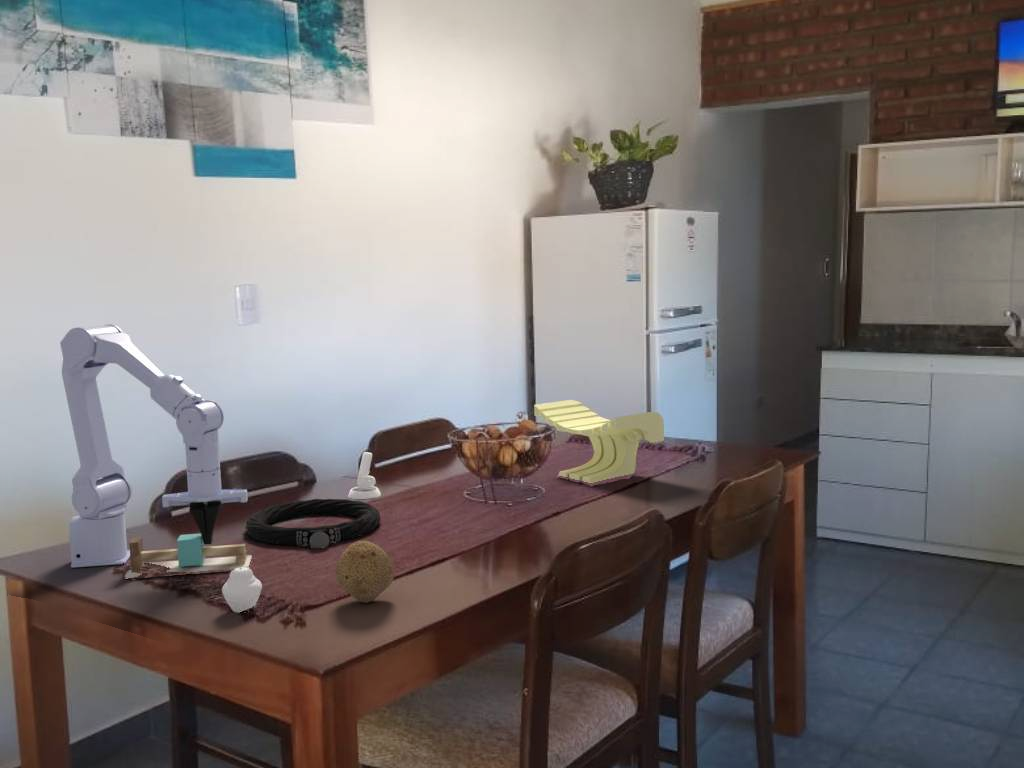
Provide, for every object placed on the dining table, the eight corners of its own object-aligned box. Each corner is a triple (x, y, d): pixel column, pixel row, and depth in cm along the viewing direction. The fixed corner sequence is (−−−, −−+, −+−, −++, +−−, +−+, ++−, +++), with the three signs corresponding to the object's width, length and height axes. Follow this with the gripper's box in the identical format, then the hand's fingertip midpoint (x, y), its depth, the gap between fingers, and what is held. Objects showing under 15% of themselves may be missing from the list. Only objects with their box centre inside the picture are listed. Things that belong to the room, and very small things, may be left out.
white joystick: (384, 466, 238) (387, 454, 232) (377, 511, 232) (380, 501, 226) (354, 461, 237) (356, 449, 231) (346, 506, 231) (348, 495, 225)
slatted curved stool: (664, 482, 236) (663, 409, 234) (616, 492, 226) (615, 417, 224) (581, 464, 259) (580, 398, 257) (535, 473, 250) (534, 404, 248)
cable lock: (371, 492, 218) (390, 525, 189) (372, 509, 219) (391, 544, 190) (244, 502, 211) (244, 538, 182) (245, 520, 211) (245, 558, 183)
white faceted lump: (269, 610, 153) (266, 567, 152) (231, 619, 150) (228, 575, 149) (254, 600, 158) (252, 558, 157) (217, 608, 155) (215, 565, 154)
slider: (178, 566, 173) (177, 540, 173) (182, 560, 177) (180, 534, 176) (202, 564, 174) (200, 538, 173) (204, 558, 178) (203, 533, 177)
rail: (125, 580, 170) (122, 545, 169) (133, 568, 177) (131, 535, 176) (248, 570, 174) (246, 536, 173) (251, 559, 181) (250, 526, 180)
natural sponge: (324, 605, 155) (321, 544, 154) (360, 588, 162) (358, 530, 161) (368, 614, 150) (365, 552, 149) (403, 597, 158) (401, 537, 156)
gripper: (157, 476, 169) (162, 552, 170) (243, 471, 171) (247, 546, 173) (164, 468, 176) (169, 541, 177) (246, 463, 178) (250, 535, 180)
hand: (208, 542), depth 175 cm, fingers closed
